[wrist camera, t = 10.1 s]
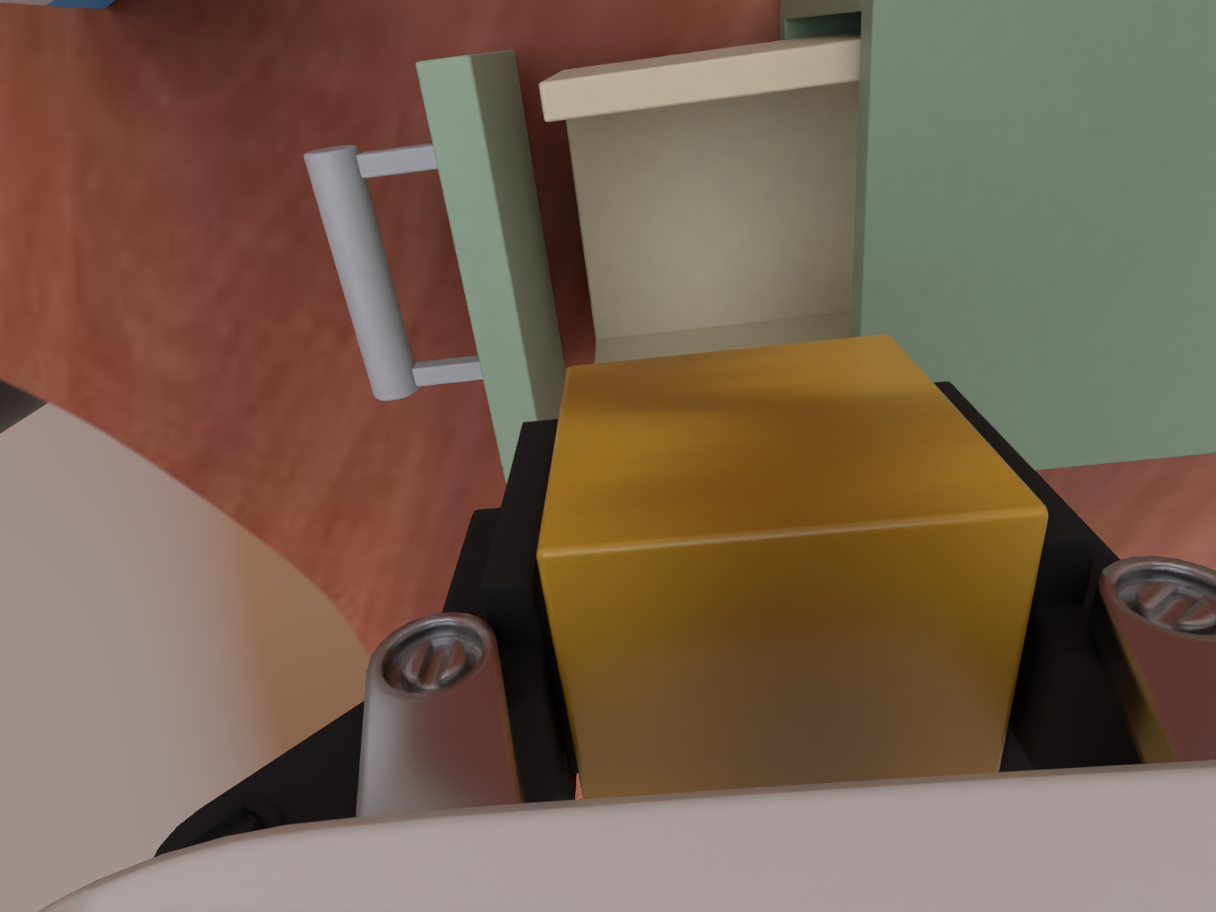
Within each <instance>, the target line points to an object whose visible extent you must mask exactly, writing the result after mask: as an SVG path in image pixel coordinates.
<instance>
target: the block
mask: <svg viewBox="0 0 1216 912" xmlns="http://www.w3.org/2000/svg"><path fill="white" fill-rule="evenodd" d="M1047 521H1048V511H1047V508H1046V506H1045V505H1044V504H1043V503H1042V502H1041V500H1040V499H1039V498H1038V497H1037V496H1036V495H1035V494H1034V493H1033V492H1032V491H1031V489H1030V488H1029V487H1028V486H1027V485H1026V484H1025V483H1024V482H1023V481H1022V480H1021V478H1020V477H1019V476H1018V475H1017V474H1016V473H1015V472H1014V471H1013V470H1012V469H1011V467H1010V466H1009V465H1008V464H1007V463H1006V462H1005V461H1004V460H1003V459H1002V457H1001V456H1000V455H999V454H998V453H997V452H996V451H995V450H994V449H993V448H992V446H991V445H990V444H989V443H988V442H987V441H986V440H985V439H984V438H983V437H982V435H981V434H980V433H979V432H978V431H977V430H976V429H975V428H974V427H973V426H972V424H971V423H970V422H969V421H968V420H967V419H966V418H965V417H964V416H963V415H962V413H961V412H960V411H959V410H958V409H957V408H956V407H955V406H954V405H953V404H952V402H951V401H950V400H949V399H948V398H947V397H946V396H945V395H944V394H943V393H942V391H941V390H940V389H939V388H938V387H937V386H936V385H935V384H934V383H933V382H932V380H931V379H930V378H929V377H928V376H927V375H926V374H925V373H924V372H923V371H922V369H921V368H920V367H919V366H918V365H917V364H916V363H915V362H914V361H913V360H912V358H911V357H910V356H909V355H908V354H907V353H906V352H905V351H904V350H903V349H902V347H901V346H900V345H899V344H898V343H897V342H896V341H895V340H894V339H893V338H892V336H891V335H887V334H882V335H872V336H862V337H852V338H842V339H832V340H822V341H813V342H803V343H793V344H783V345H773V346H763V347H753V348H744V349H734V350H724V351H714V352H704V353H694V354H684V355H675V356H665V357H655V358H645V359H635V360H625V361H615V362H606V363H596V364H586V365H576V366H570V367H568V368H567V371H566V375H565V382H564V388H563V394H562V400H561V406H560V412H559V418H558V424H557V430H556V437H555V443H554V449H553V455H552V461H551V467H550V473H549V479H548V485H547V492H546V498H545V504H544V510H543V516H542V522H541V528H540V534H539V540H538V547H537V553H536V558H537V564H538V569H539V574H540V579H541V584H542V589H543V594H544V599H545V604H546V609H547V615H548V620H549V625H550V630H551V635H552V640H553V645H554V650H555V655H556V661H557V666H558V671H559V676H560V681H561V686H562V691H563V696H564V701H565V706H566V712H567V717H568V722H569V727H570V732H571V737H572V742H573V747H574V752H575V758H576V763H577V768H578V773H579V778H580V783H581V788H582V793H583V798H584V799H594V798H609V797H623V796H638V795H653V794H667V793H682V792H697V791H711V790H726V789H741V788H757V787H772V786H788V785H804V784H820V783H835V782H851V781H867V780H883V779H899V778H915V777H931V776H948V775H964V774H980V773H996V772H999V768H1000V763H1001V758H1002V753H1003V748H1004V743H1005V737H1006V732H1007V727H1008V722H1009V717H1010V712H1011V707H1012V701H1013V696H1014V691H1015V686H1016V681H1017V676H1018V670H1019V665H1020V660H1021V655H1022V650H1023V645H1024V640H1025V634H1026V629H1027V624H1028V619H1029V614H1030V609H1031V604H1032V598H1033V593H1034V588H1035V583H1036V578H1037V573H1038V568H1039V562H1040V557H1041V552H1042V547H1043V542H1044V537H1045V532H1046V526H1047Z"/></svg>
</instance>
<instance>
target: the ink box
mask: <svg viewBox="0 0 1216 912" xmlns="http://www.w3.org/2000/svg"><path fill="white" fill-rule="evenodd" d="M114 1H115V0H0V3H13V4H29V5H47V6H58V7H77V8H93V9H102V8H106V7H107V6H108V5H110V4H111V3H112V2H114Z"/></svg>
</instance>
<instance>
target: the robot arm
mask: <svg viewBox="0 0 1216 912" xmlns="http://www.w3.org/2000/svg"><path fill="white" fill-rule="evenodd" d="M933 383H934V384H935V385H936V386H937V387H938V388H939V389H940V390H941V391H942V393H943V394H944V395H945V396H946V397H947V398H948V399H949V400H950V401H951V402H952V404H953V405H954V406H955V407H956V408H957V409H958V410H959V411H960V412H961V413H962V415H963V416H964V417H965V418H966V419H967V420H968V421H969V422H970V423H971V424H972V426H973V427H974V428H975V429H976V430H977V431H978V432H979V433H980V434H981V435H982V437H983V438H984V439H985V440H986V441H987V442H988V443H989V444H990V445H991V446H992V448H993V449H994V450H995V451H996V452H997V453H998V454H999V455H1000V456H1001V457H1002V459H1003V460H1004V461H1005V462H1006V463H1007V464H1008V465H1009V466H1010V467H1011V469H1012V470H1013V471H1014V472H1015V473H1016V474H1017V475H1018V476H1019V477H1020V478H1021V480H1022V481H1023V482H1024V483H1025V484H1026V485H1027V486H1028V487H1029V488H1030V489H1031V491H1032V492H1033V493H1034V494H1035V495H1036V496H1037V497H1038V498H1039V499H1040V500H1041V502H1042V503H1043V504H1044V505H1045V506H1046V508H1047V511H1048V521H1047V526H1046V532H1045V537H1044V542H1043V547H1042V552H1041V557H1040V562H1039V568H1038V573H1037V578H1036V583H1035V588H1034V593H1033V598H1032V604H1031V609H1030V614H1029V619H1028V624H1027V629H1026V634H1025V640H1024V645H1023V650H1022V655H1021V660H1020V665H1019V670H1018V676H1017V681H1016V686H1015V691H1014V696H1013V701H1012V707H1011V712H1010V717H1009V722H1008V727H1007V732H1006V737H1005V743H1004V748H1003V753H1002V758H1001V763H1000V768H999V772H996V773H980V774H964V775H948V776H931V777H915V778H899V779H883V780H867V781H851V782H835V783H820V784H804V785H788V786H772V787H757V788H741V789H726V790H711V791H697V792H682V793H667V794H653V795H638V796H623V797H609V798H594V799H580V800H575V791H576V774H577V773H578V768H577V763H576V758H575V752H574V747H573V742H572V737H571V732H570V727H569V722H568V717H567V712H566V706H565V701H564V696H563V691H562V686H561V681H560V676H559V671H558V666H557V661H556V655H555V650H554V645H553V640H552V635H551V630H550V625H549V620H548V615H547V609H546V604H545V599H544V594H543V589H542V584H541V579H540V574H539V569H538V564H537V558H536V553H537V547H538V540H539V534H540V528H541V522H542V516H543V510H544V504H545V498H546V492H547V485H548V479H549V473H550V467H551V461H552V455H553V449H554V443H555V437H556V430H557V424H558V419H550V420H540V421H530V422H523V424H522V427H521V431H520V435H519V439H518V443H517V446H516V450H515V454H514V458H513V462H512V466H511V470H510V474H509V478H508V482H507V486H506V490H505V494H504V497H503V501H502V505H501V508H490V509H479V510H476V511H474V513H473V515H472V518H471V521H470V524H469V527H468V530H467V534H466V537H465V540H464V543H463V546H462V550H461V553H460V556H459V559H458V563H457V566H456V569H455V572H454V575H453V579H452V582H451V585H450V588H449V591H448V595H447V598H446V601H445V604H444V608H443V611H442V613H437V614H431V615H428V616H425V617H422V618H419V619H416V620H413V621H411V622H409V623H407V624H405V625H404V626H402V627H400V628H398V629H396V630H395V631H394V632H392V633H391V634H390V635H389V636H388V637H387V638H385V639H384V640H383V641H382V642H381V643H380V644H379V646H378V647H377V649H376V650H375V651H374V653H373V654H372V656H371V658H370V662H369V665H368V668H367V676H366V690H365V701H363V702H362V703H360V704H358V705H357V706H355V707H354V708H352V709H351V710H349V711H348V712H346V713H345V714H343V715H342V716H340V717H339V718H337V719H336V720H334V721H333V722H331V723H330V724H328V725H327V726H325V727H323V728H322V729H320V730H319V731H318V732H316V733H314V734H313V735H311V736H310V737H308V738H307V739H306V740H304V741H302V742H301V743H299V744H298V745H296V746H295V747H293V748H292V749H290V750H289V751H287V752H286V753H284V754H283V755H281V756H279V757H278V758H276V759H275V760H274V761H272V762H270V763H269V764H267V765H266V766H264V767H263V768H261V769H260V770H258V771H257V772H255V773H254V774H252V775H251V776H249V777H247V778H246V779H245V780H243V781H241V782H240V783H238V784H237V785H235V786H234V787H232V788H231V789H229V790H228V791H226V792H225V793H223V794H222V795H220V796H219V797H217V798H216V799H214V800H213V801H211V802H209V803H208V804H206V805H205V806H203V807H202V808H200V809H199V810H198V811H196V812H195V813H194V814H193V815H191V816H190V817H189V818H187V819H186V820H185V821H184V822H183V823H181V824H180V825H179V826H177V828H176V829H175V830H174V831H173V832H172V833H171V834H170V836H169V837H168V838H167V839H166V840H165V841H164V842H163V844H162V845H161V846H160V847H159V849H158V850H157V852H156V854H155V856H154V858H152V859H149V860H146V861H144V862H142V863H139V864H137V865H134V866H131V867H129V868H126V869H124V870H121V871H119V872H116V873H114V874H111V875H109V876H106V877H104V878H101V879H99V880H96V881H94V882H93V883H90V884H88V885H86V886H84V887H82V888H80V889H78V890H76V891H74V892H72V893H70V894H68V895H66V896H65V897H62V898H61V899H59V900H57V901H55V902H54V903H52V904H50V905H48V906H46V907H45V908H43V909H41V910H39V911H38V912H1216V571H1214V570H1212V569H1210V568H1207V567H1205V566H1202V565H1198V564H1194V563H1191V562H1187V561H1183V560H1180V559H1172V558H1164V557H1157V556H1148V557H1131V558H1127V559H1123V560H1120V559H1119V558H1118V557H1117V556H1116V555H1115V554H1114V553H1113V552H1112V551H1111V550H1110V549H1109V548H1108V547H1107V545H1106V544H1105V543H1104V542H1103V541H1102V540H1101V539H1100V538H1099V537H1098V536H1097V535H1096V534H1095V533H1094V532H1093V531H1092V530H1091V529H1090V528H1089V527H1088V526H1087V525H1086V524H1085V522H1084V521H1083V520H1082V519H1081V518H1080V517H1079V516H1078V515H1077V514H1076V513H1075V512H1074V511H1073V510H1072V509H1071V508H1070V507H1069V506H1068V505H1067V504H1066V503H1065V502H1064V500H1063V499H1062V498H1061V497H1060V496H1059V495H1058V494H1057V493H1056V492H1055V491H1054V490H1053V489H1052V488H1051V487H1050V486H1049V485H1048V484H1047V483H1046V482H1045V481H1044V480H1043V479H1042V477H1041V476H1040V475H1039V474H1038V473H1037V472H1036V471H1035V470H1034V469H1033V468H1032V467H1031V466H1030V465H1029V464H1028V463H1027V462H1026V461H1025V460H1024V459H1023V458H1022V457H1021V456H1020V454H1019V453H1018V452H1017V451H1016V450H1015V449H1014V448H1013V447H1012V446H1011V445H1010V444H1009V443H1008V442H1007V441H1006V440H1005V439H1004V438H1003V437H1002V436H1001V435H1000V434H999V433H998V431H997V430H996V429H995V428H994V427H993V426H992V425H991V424H990V423H989V422H988V421H987V420H986V419H985V418H984V417H983V416H982V415H981V414H980V413H979V412H978V411H977V409H976V408H975V407H974V406H973V405H972V404H971V403H970V402H969V401H968V400H967V399H966V398H965V397H964V396H963V395H962V394H961V393H960V392H959V391H958V390H957V389H956V388H955V386H954V385H953V384H952V383H950V382H949V381H943V382H933Z"/></svg>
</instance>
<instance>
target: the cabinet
mask: <svg viewBox="0 0 1216 912" xmlns="http://www.w3.org/2000/svg"><path fill="white" fill-rule="evenodd" d="M853 30H861V47H860V77H859V107H858V138H857V168H856V198H855V228H854V258H853V288H852V318H851V338H852V337H862V336H872V335H882V334H887V335H891V336H892V338H893V339H894V340H895V341H896V342H897V343H898V344H899V345H900V346H901V347H902V349H903V350H904V351H905V352H906V353H907V354H908V355H909V356H910V357H911V358H912V360H913V361H914V362H915V363H916V364H917V365H918V366H919V367H920V368H921V369H922V371H923V372H924V373H925V374H926V375H927V376H928V377H929V378H930V379H931V380H932V382H943V381H949V382H950V383H952V384H953V385H954V386H955V388H956V389H957V390H958V391H959V392H960V393H961V394H962V395H963V396H964V397H965V398H966V399H967V400H968V401H969V402H970V403H971V404H972V405H973V406H974V407H975V408H976V409H977V411H978V412H979V413H980V414H981V415H982V416H983V417H984V418H985V419H986V420H987V421H988V422H989V423H990V424H991V425H992V426H993V427H994V428H995V429H996V430H997V431H998V433H999V434H1000V435H1001V436H1002V437H1003V438H1004V439H1005V440H1006V441H1007V442H1008V443H1009V444H1010V445H1011V446H1012V447H1013V448H1014V449H1015V450H1016V451H1017V452H1018V453H1019V454H1020V456H1021V457H1022V458H1023V459H1024V460H1025V461H1026V462H1027V463H1028V464H1029V465H1030V466H1031V467H1032V468H1033V469H1034V470H1043V469H1053V468H1064V467H1074V466H1084V465H1095V464H1105V463H1116V462H1126V461H1136V460H1147V459H1157V458H1168V457H1178V456H1189V455H1199V454H1209V453H1216V0H780V40H787V39H795V38H802V37H809V36H817V35H824V34H831V33H839V32H846V31H853Z"/></svg>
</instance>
